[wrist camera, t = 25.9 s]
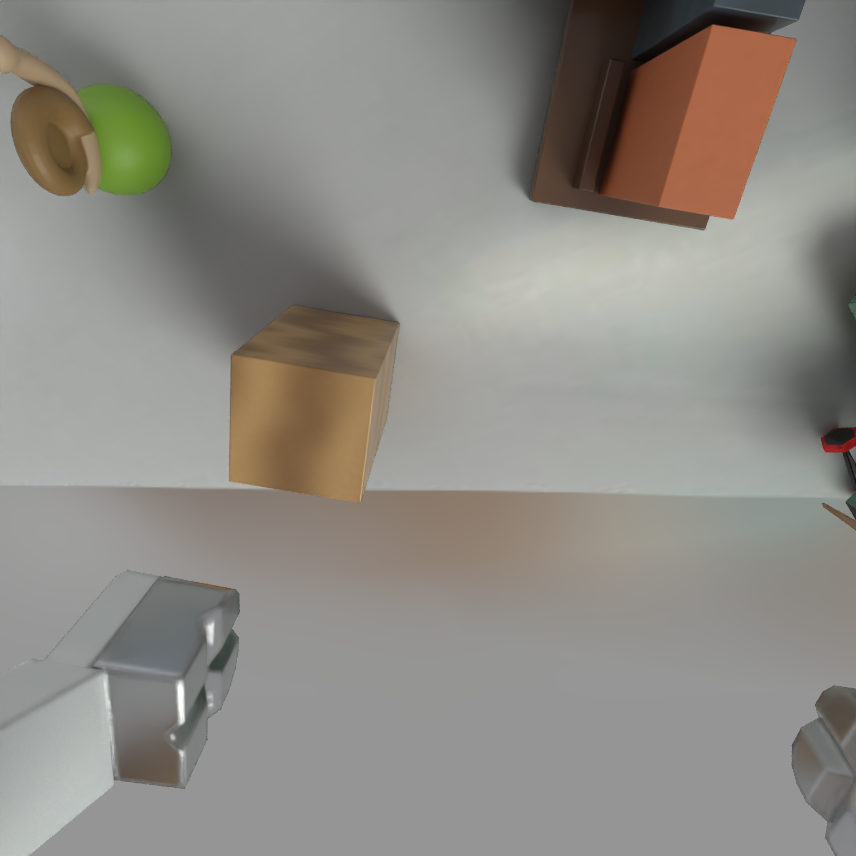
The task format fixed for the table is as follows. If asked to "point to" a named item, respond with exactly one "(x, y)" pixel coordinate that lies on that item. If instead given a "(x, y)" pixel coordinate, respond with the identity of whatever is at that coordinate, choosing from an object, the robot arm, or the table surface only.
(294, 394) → the block
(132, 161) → the snail figurine
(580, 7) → the pad mount
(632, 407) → the table surface
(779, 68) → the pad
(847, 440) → the toy airplane
